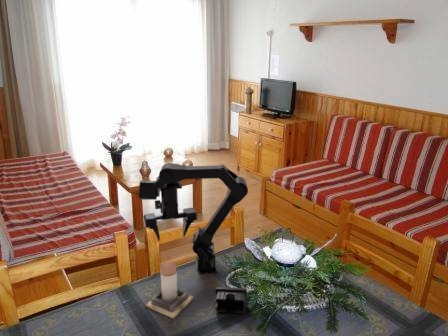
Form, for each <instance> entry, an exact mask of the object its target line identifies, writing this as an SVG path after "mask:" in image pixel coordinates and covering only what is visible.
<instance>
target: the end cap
mask: <svg viewBox="0 0 448 336" xmlns="http://www.w3.org/2000/svg"><path fill="white" fill-rule="evenodd" d="M214 292H215V299H214V302H215V304H214V305H215V306H214V308H215V315H218V316H231V317H232V316H234V317H244V316H245V314H246V312H245V311H246V307H247V304H248V303H247V302H248V301H247V299H248V295H247V294H248V289H247V288H246V287H245V288H244V287H242V288H241V287H227V286H226V287H225V286H216V287H215V291H214Z"/></svg>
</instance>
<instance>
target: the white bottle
mask: <svg viewBox="0 0 448 336" xmlns="http://www.w3.org/2000/svg"><path fill="white" fill-rule="evenodd" d="M159 267H160V268H159V269H160V270H159V271H160V283H161V285H160V286H161V290H162V301H164V302H166V303H169V304H171V305H172V304H173V303H174V302H175V301H176V300H177V299H178V294H177V288H178V277H177V276H178V275H177V264H176V262H172V261H167V262H163V263H162V264H161V265H160V266H159Z"/></svg>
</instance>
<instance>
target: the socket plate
mask: <svg viewBox="0 0 448 336" xmlns="http://www.w3.org/2000/svg"><path fill="white" fill-rule="evenodd" d="M177 294H178V299H177V300H176V301H175V302H174V303H173V304H172V305H171V304H169V303H166V302H164V301H162V289H160V290H159V291H158V292H157V293H155V294H154V295H153V296H152V297H151V298H150V301H148V302H147V303H146V304H145V307H146V308H148V309H151V310H153V311H155V312H157V313H159V314H162V315H164V316H166V317H169V318H171V319H175V318H176V317H177V316H178V315H179V314H180V313H181V312H182V311H183V309H185V308H186V306H188V305H189V304H190V303H191V302H192V301H193V300H194V295H190V294H189V292H188V291H185V290H183V289H180V288H178V287H177Z"/></svg>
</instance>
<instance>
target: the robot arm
mask: <svg viewBox="0 0 448 336" xmlns="http://www.w3.org/2000/svg"><path fill="white" fill-rule="evenodd" d="M205 179H207V180H208V179H209V180H211V179H219V180H220V181H222V183H223V184H224V185H225V186H226V187H227V191H226V195H225V197H224V198H223V200H222V202H221V203H220V205H219V206H218V207H217V209H216V211H215V212H214V213H213V215H212V216H211V217H210V219H209V221H208V222H207V223H206V225H205V226H204V227H203V228H201V227H200V226H199V227H198V228H197V230H196V232H195V233H193V234H192V235H193V236H192V242H191V243H192V248H191V249H192V252H193V253H194V254H196V256H197V257H196V258H195V267H196V270H197V271H198V272H199V274H200V275H205V274H210V273H215V272H217V271H218V268H217V267H216V253H215V243H214V242H213V238H214V235H215V234H216V232H217V231H218V230H219V228H220V227H221V226H222V224H223V222H224V221H225V220H226V218H227V216H228V215H229V214H230V212H231V211H232V209H233V208H234V206H236V205H237V204H239V203H240V202H242V200H243V199H245V197H246V196H247V195H248V194H249V190H248V183H247V181H246V179H245V178H243V177H242V176H239V175H237V174H236V173H235V172H234V171H232V170H231V169H229V168H228V167H227V166H226V165H225V164H219V165H193V166H191V165H189V166H188V165H182V164H179V163H173V162H167V163H165V164H163V166H161V169H160V170H159V174H158V176H157V177H156V179H155V180H144V179H142V180H140V181H139V187H138V188H139V191H138V199H139V200H140V201H148V200H149V201H152V200H153V201H154V207H155V210H160V214H161V215H156V214H155V212H152V213H147V214H146V213H145V214H144V215H143V217H142V219H143V224H144V228H147V229H149V230H153V232H154V234H155V236H156V237H157V240H158V242H160V241H161V240H160V239H161V237H160V232H159V226H158V222H163V221H172V220H175V219H176V220H177V219H182V237H185V236H186V234H187V232H188V229H189V228H190V227H191V224H192V223H195V221H197V220H198V213H197V211H196V210H195V208H194V207H186V208H183V210H182V211H181V212H179V202H178V201H179V199H178V189H179V190H181V189H182V188H183V182H182V181H184V180H205ZM160 194H161V195H160ZM160 196H161V197H160ZM159 197H160V199H161V200H160V199H158V198H159Z"/></svg>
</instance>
